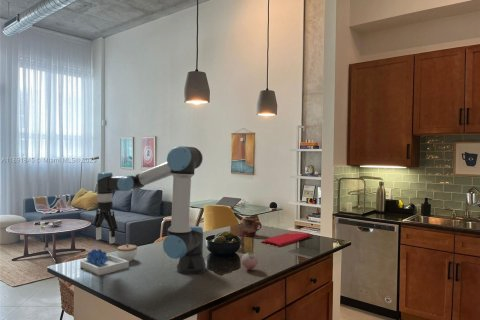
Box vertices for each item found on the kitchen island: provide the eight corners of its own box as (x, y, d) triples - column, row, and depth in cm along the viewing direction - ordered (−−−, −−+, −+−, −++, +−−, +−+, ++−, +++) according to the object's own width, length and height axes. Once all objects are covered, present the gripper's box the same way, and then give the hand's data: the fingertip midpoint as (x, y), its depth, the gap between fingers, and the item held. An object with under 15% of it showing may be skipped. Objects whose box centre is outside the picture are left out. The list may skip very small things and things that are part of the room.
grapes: (111, 266, 197) (97, 253, 202) (114, 256, 195) (100, 244, 200) (93, 273, 187) (79, 260, 192) (96, 263, 185) (82, 250, 190)
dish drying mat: (260, 244, 249) (260, 238, 249) (293, 235, 279) (294, 230, 279) (278, 248, 238) (278, 242, 238) (311, 238, 268) (311, 233, 268)
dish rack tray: (128, 267, 191) (128, 261, 191) (98, 275, 178) (98, 268, 178) (109, 260, 203) (109, 254, 203) (80, 267, 190) (80, 261, 190)
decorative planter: (266, 236, 272) (266, 217, 272) (257, 239, 262) (257, 220, 262) (244, 232, 283) (244, 215, 283) (235, 235, 273) (235, 217, 273)
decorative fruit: (238, 268, 192) (238, 249, 192) (252, 266, 195) (253, 248, 195) (245, 273, 183) (245, 254, 183) (259, 272, 186) (260, 252, 186)
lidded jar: (131, 263, 198) (131, 246, 198) (113, 262, 200) (113, 245, 200) (140, 258, 209) (140, 242, 209) (123, 257, 211) (123, 241, 211)
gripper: (124, 202, 185) (124, 243, 185) (99, 199, 201) (99, 236, 201) (111, 203, 180) (111, 246, 180) (86, 200, 196) (87, 239, 196)
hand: (105, 241), depth 190 cm, fingers open, 13 cm apart
